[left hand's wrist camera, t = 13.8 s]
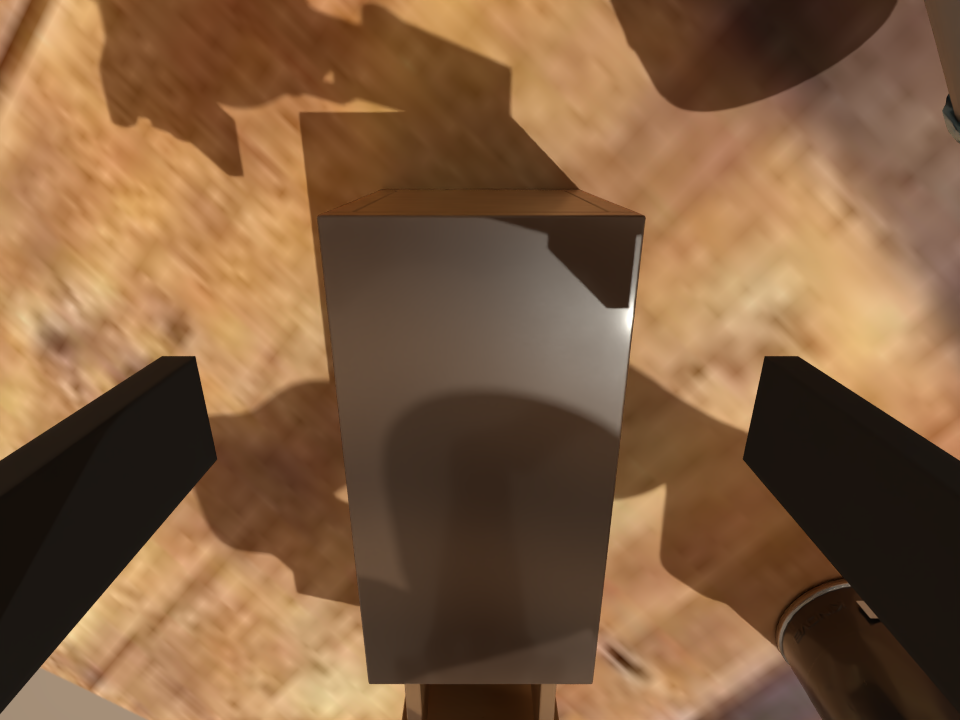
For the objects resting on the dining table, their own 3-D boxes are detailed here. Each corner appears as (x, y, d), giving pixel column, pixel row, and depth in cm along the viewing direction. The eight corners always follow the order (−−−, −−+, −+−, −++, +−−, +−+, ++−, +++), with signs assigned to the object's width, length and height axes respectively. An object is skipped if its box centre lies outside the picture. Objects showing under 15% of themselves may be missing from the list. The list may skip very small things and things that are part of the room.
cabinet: (558, 520, 36) (592, 684, 25) (402, 520, 36) (368, 684, 25) (580, 189, 28) (646, 215, 17) (381, 189, 28) (315, 215, 17)
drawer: (541, 690, 41) (559, 849, 31) (419, 690, 41) (401, 849, 31) (560, 380, 31) (594, 478, 22) (400, 380, 31) (366, 478, 22)
